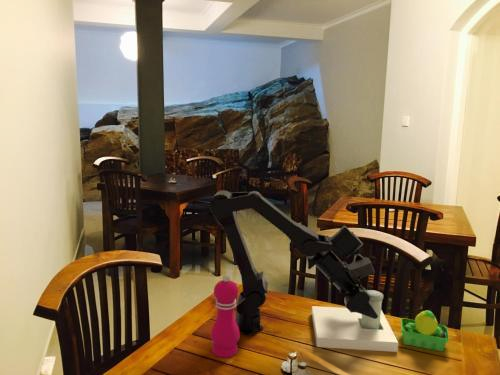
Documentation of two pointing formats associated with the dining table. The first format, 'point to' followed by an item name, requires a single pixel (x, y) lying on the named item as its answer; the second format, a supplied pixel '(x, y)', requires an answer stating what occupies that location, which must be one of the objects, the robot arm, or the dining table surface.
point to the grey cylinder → (376, 304)
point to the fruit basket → (424, 331)
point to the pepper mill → (225, 319)
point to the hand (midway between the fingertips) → (372, 309)
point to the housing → (350, 331)
